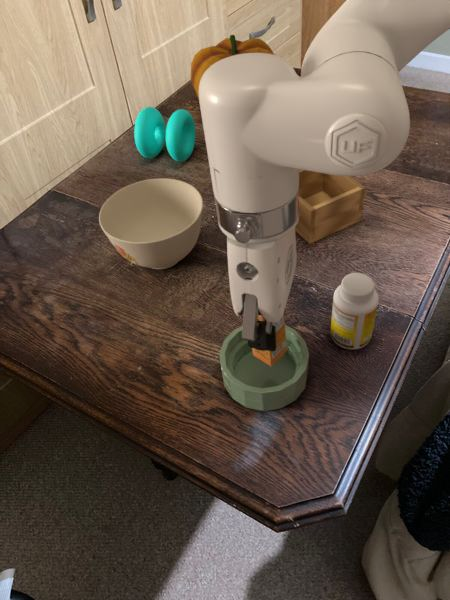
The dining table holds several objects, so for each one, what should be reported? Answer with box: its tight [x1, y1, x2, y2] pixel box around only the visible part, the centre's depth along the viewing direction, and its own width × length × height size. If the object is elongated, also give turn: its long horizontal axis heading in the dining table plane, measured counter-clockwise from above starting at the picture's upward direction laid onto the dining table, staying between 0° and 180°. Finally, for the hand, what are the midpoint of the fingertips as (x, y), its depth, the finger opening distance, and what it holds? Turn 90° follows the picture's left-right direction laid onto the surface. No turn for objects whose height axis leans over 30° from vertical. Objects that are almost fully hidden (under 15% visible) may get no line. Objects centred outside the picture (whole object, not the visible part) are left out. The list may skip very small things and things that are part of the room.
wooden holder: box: [295, 169, 366, 245], centre depth 83 cm, size 11×11×7 cm
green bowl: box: [218, 324, 310, 412], centre depth 63 cm, size 11×11×4 cm
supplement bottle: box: [329, 272, 380, 350], centre depth 64 cm, size 6×6×10 cm
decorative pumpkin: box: [190, 34, 276, 100], centre depth 111 cm, size 20×22×15 cm
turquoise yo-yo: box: [133, 106, 196, 163], centre depth 100 cm, size 10×10×10 cm
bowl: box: [98, 177, 204, 270], centre depth 79 cm, size 16×16×10 cm
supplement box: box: [252, 313, 287, 367], centre depth 58 cm, size 3×3×10 cm
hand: (267, 329), depth 58 cm, fingers closed on supplement box, 4 cm apart
